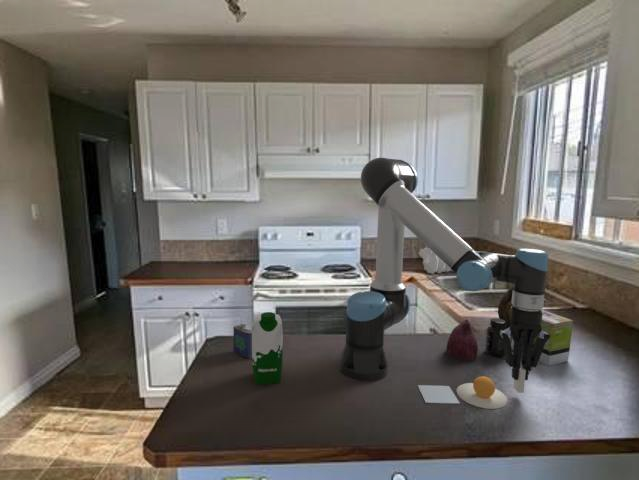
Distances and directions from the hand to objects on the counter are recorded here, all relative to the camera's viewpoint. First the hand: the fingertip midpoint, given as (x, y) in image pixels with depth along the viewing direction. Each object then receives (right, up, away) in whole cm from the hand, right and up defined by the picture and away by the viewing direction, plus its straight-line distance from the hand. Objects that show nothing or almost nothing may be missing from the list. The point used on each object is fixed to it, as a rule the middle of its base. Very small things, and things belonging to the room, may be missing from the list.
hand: (518, 390), depth 109 cm
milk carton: (-70, +1, +7) cm, 70 cm away
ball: (-10, +1, 0) cm, 10 cm away
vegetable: (-6, +2, +27) cm, 28 cm away
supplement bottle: (+6, +2, +28) cm, 29 cm away
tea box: (+21, +1, +28) cm, 35 cm away
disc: (-10, -2, 0) cm, 10 cm away
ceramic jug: (+25, +5, +51) cm, 57 cm away
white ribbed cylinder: (+25, +19, +154) cm, 158 cm away
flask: (-80, +3, +22) cm, 83 cm away
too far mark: (-22, -1, 0) cm, 22 cm away
